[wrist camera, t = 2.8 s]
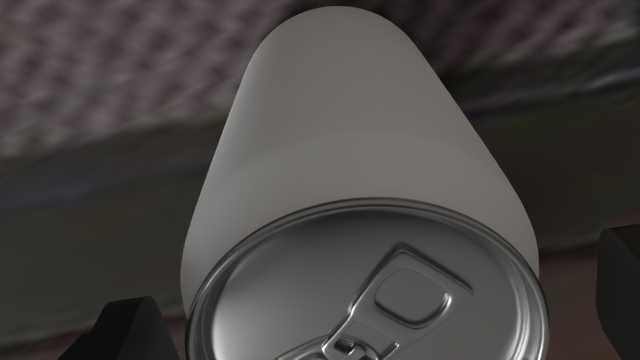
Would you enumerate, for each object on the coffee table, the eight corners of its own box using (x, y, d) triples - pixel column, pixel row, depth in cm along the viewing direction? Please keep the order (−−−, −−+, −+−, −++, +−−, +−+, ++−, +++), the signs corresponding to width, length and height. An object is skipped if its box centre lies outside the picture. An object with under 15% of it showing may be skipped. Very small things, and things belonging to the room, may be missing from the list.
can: (208, 118, 19) (82, 395, 9) (313, -41, 17) (319, 72, 6) (352, 209, 21) (395, 528, 11) (467, 77, 19) (671, 318, 8)
